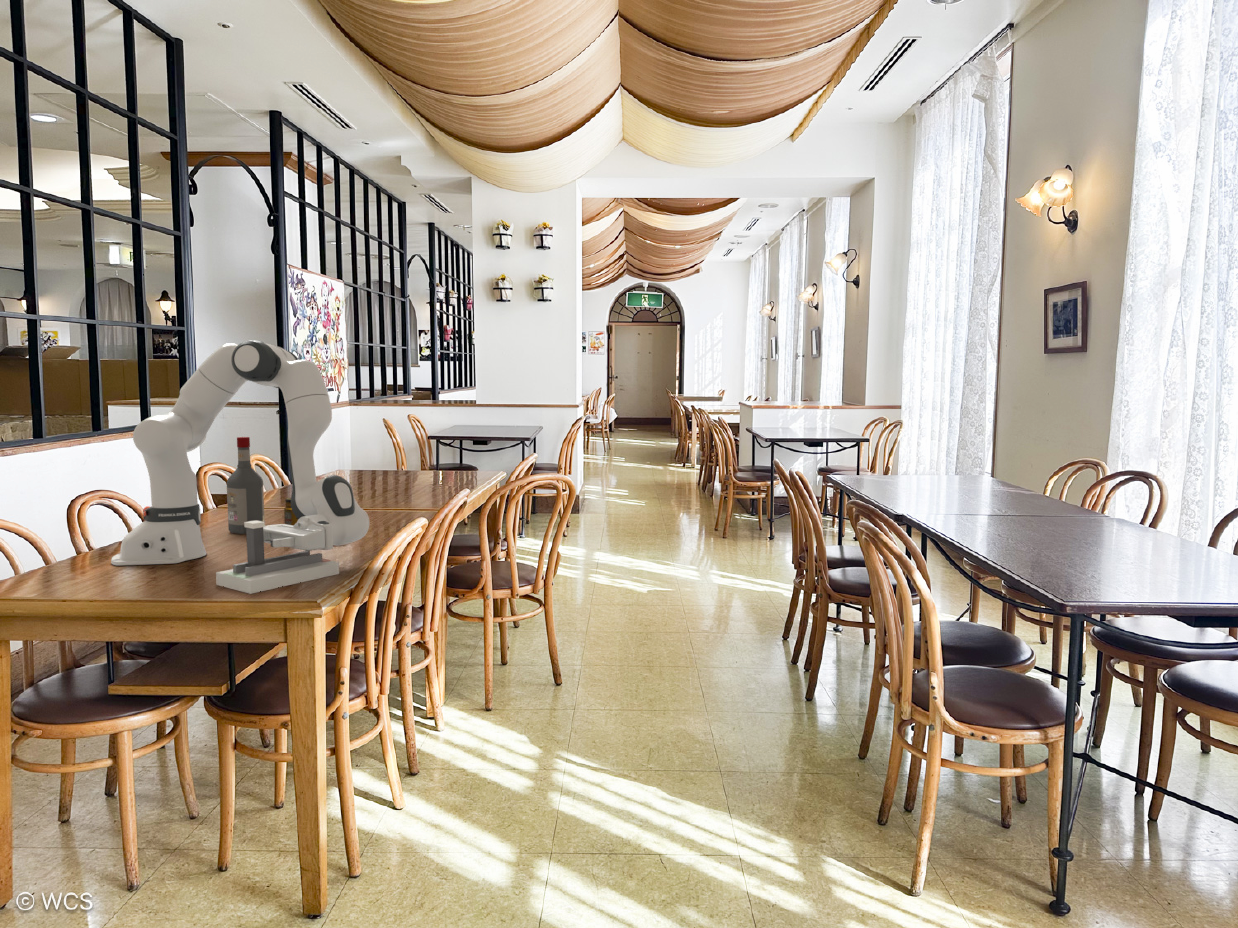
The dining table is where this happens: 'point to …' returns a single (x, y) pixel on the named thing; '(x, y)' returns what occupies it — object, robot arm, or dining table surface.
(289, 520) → the condiment
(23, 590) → the dining table surface
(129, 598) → the dining table surface
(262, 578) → the box
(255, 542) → the handle
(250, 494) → the liquor
